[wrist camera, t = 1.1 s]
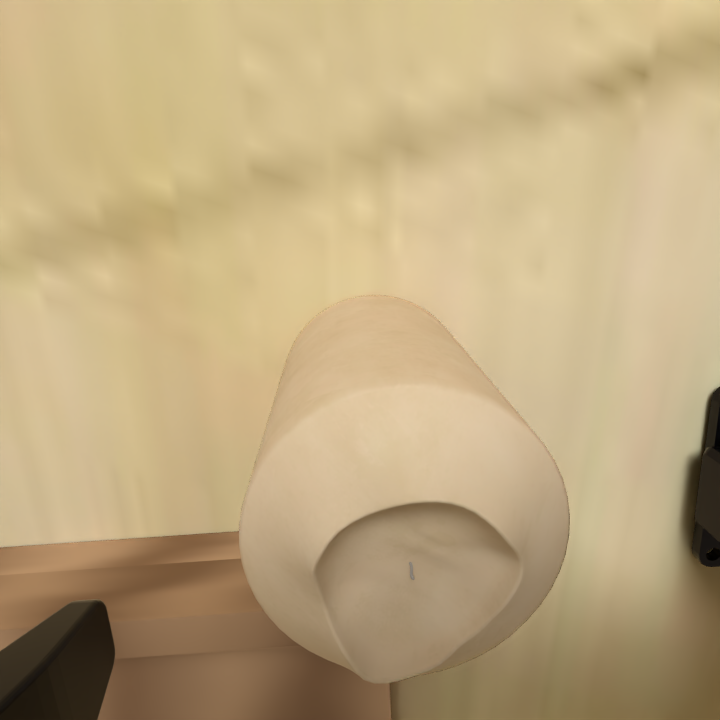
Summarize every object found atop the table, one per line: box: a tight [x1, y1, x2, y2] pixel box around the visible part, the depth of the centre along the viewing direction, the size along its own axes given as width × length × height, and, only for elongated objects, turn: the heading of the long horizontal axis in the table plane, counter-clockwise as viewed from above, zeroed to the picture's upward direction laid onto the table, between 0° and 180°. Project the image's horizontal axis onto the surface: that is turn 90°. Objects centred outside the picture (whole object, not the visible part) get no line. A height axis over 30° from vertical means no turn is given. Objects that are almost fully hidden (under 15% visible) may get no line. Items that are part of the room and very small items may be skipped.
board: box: [0, 531, 391, 720], centre depth 18 cm, size 16×9×4 cm, turn 93°
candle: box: [239, 295, 570, 684], centre depth 13 cm, size 6×6×10 cm
